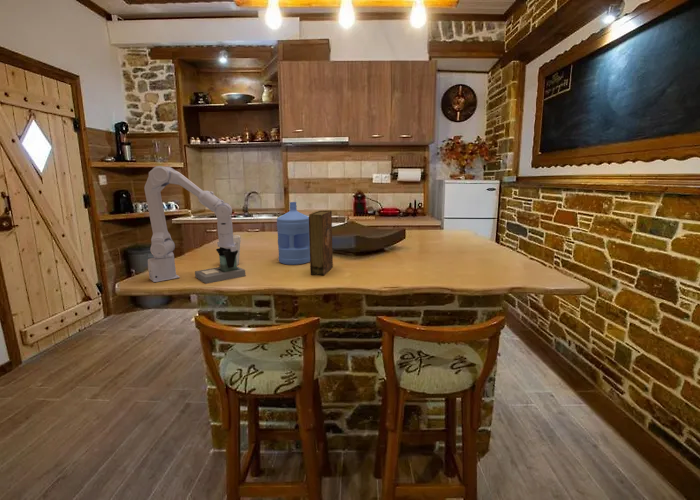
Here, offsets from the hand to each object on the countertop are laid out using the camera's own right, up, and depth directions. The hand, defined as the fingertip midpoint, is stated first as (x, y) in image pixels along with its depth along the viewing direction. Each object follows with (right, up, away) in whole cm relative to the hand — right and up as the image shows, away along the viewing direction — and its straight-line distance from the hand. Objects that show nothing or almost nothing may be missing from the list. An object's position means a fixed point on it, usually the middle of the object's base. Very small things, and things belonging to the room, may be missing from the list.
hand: (228, 266), depth 147 cm
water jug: (+24, +1, +24) cm, 34 cm away
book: (+38, -2, +6) cm, 39 cm away
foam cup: (-5, 0, +19) cm, 19 cm away
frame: (-3, -4, -1) cm, 5 cm away
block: (0, -2, 0) cm, 2 cm away
